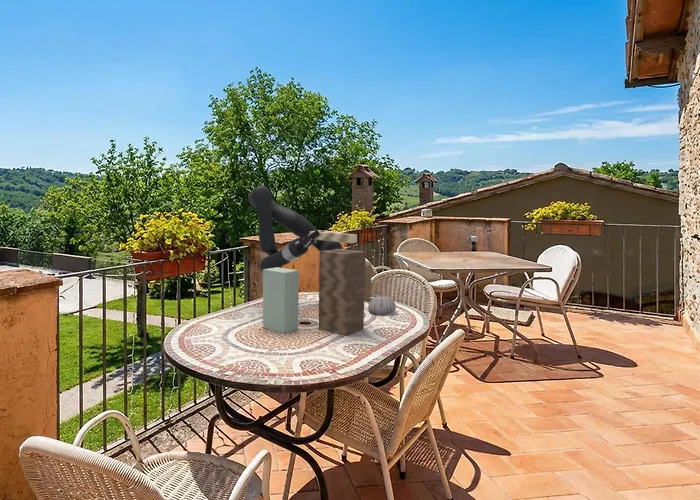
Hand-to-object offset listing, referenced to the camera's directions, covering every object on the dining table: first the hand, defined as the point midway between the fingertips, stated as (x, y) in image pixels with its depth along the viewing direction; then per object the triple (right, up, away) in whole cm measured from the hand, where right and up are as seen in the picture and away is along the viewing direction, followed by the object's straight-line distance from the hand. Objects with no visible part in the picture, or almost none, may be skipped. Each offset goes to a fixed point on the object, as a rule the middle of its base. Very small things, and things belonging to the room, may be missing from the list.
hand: (321, 232), depth 183 cm
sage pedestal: (-16, -39, -3) cm, 43 cm away
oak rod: (+5, -4, -3) cm, 7 cm away
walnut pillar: (+8, -40, -2) cm, 41 cm away
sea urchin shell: (+27, -37, +26) cm, 53 cm away
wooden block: (+18, -34, +53) cm, 65 cm away
